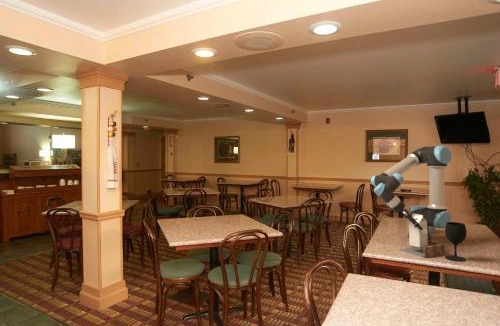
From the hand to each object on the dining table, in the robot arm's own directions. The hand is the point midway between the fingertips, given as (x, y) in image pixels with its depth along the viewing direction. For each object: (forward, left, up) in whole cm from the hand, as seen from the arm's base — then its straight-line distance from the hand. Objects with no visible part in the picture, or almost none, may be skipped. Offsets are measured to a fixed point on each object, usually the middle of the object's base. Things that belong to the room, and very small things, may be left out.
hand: (424, 231), depth 197 cm
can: (-46, -35, -13) cm, 59 cm away
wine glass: (-5, +16, -13) cm, 21 cm away
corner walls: (+1, -2, -13) cm, 13 cm away
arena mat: (+1, -2, -13) cm, 13 cm away
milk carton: (+2, -2, -9) cm, 9 cm away
